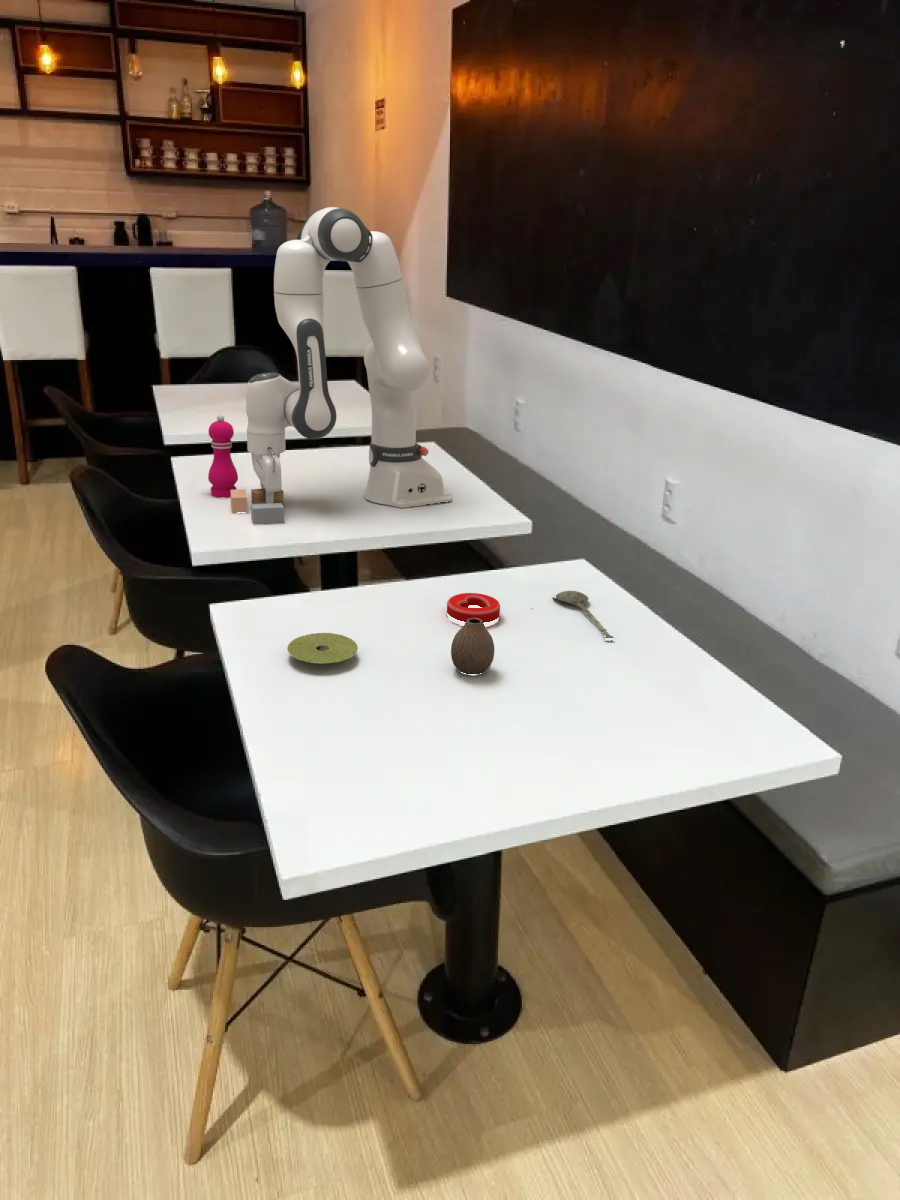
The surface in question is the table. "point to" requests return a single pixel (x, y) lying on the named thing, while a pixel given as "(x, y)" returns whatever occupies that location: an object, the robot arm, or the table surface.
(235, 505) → the terracotta brick
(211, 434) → the pepper mill
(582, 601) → the soupspoon
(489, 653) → the vase
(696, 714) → the table surface
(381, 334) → the robot arm
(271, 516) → the slate-grey brick
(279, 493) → the walnut brick
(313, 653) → the mat
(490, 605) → the decorative ornament
